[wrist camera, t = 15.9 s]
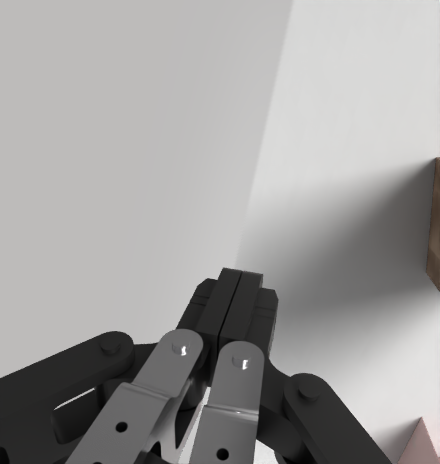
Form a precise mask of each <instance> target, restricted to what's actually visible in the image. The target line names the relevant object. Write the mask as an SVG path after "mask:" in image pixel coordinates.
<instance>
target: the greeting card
mask: <svg viewBox="0 0 440 464" xmlns="http://www.w3.org/2000/svg"><path fill="white" fill-rule="evenodd" d="M397 464H440V457H439V458H438V457H437V454H436V452H435V449H434V447H433V444H432V441H431V439H430V436H429V434H428V431H427V429H426V426H425V424H424V421H423V419H422V417H421V419H420V421H419V423H418V425H417V427H416V428H415V430H414V432H413V434H412V436H411V438H410V440H409V442H408V444H407V446H406V448H405V450H404V452H403V453H402V455H401V457H400V459H399V461H398V463H397Z"/></svg>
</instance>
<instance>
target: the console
mask: <svg viewBox="0 0 440 464" xmlns="http://www.w3.org/2000/svg"><path fill="white" fill-rule="evenodd" d="M426 273H427V274H428V276H429V277H430V279H431V280H432V282H433V283H434V284H435V286H436V287H437V289H438V290H439V291H440V157H438V158H436V165H435V176H434V188H433V199H432V211H431V222H430V234H429V245H428V257H427V268H426Z"/></svg>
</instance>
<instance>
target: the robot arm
mask: <svg viewBox="0 0 440 464" xmlns="http://www.w3.org/2000/svg"><path fill="white" fill-rule="evenodd" d="M262 283H263V274H259V273H253V272H247V271H241V270H235V269H228V268H223V269H222V271H221V273H220V275H219V278H218V280H215V279H209V278H207V279H206V280H204V281H203V282H202V283H201V284H199V285H198V286H197V288H196V290H195V292H194V294H193V296H192V298H191V300H190V303H189V304H188V306H187V308H186V310H185V312H184V314H183V316H182V318H181V319H180V321H179V324H178V326H177V327H176V329H175V330H172V331H170V332H168V333H166V334H165V335H164V336H163V337H162V338H161V340H160V341H159V342H158V343H153V344H136V345H134V344H133V340H132V338H131V337H130V336H129V335H127V334H126V333H123V332H118V331H112V332H106V333H103V334H101V335H99V336H96V337H94V338H92V339H89V340H87V341H85V342H82V343H80V344H78V345H76V346H73V347H71V348H69V349H66V350H64V351H62V352H59V353H57V354H55V355H53V356H50V357H48V358H46V359H44V360H41V361H39V362H36V363H34V364H32V365H30V366H27V367H25V368H23V369H21V370H18V371H16V372H14V373H11V374H9V375H7V376H5V377H2V378H0V464H178V461H179V458H180V455H181V453H182V451H183V448H184V446H185V444H186V441H187V439H188V437H189V435H190V432H191V430H192V428H193V425H194V423H195V421H196V419H197V417H198V414H199V412H200V410H201V407H202V399H203V397H204V394H205V391H206V388H207V387H211V390H210V394H209V398H208V402H207V405H204V407H203V409H202V413H201V417H200V421H199V425H198V429H197V433H196V437H195V441H194V445H193V449H192V453H191V457H190V461H189V464H253V461H254V451H255V442H256V439H257V440H258V441H260V442H262V443H263V444H265V445H266V446H268V447H269V448H271V449H273V450H274V454H275V457H276V460H277V462H278V464H392V463H391V462H390V460H389V459H388V458H387V457H386V455H385V454H384V453H383V452H382V450H381V449H380V448H379V447H378V445H377V444H376V443H375V442H374V440H373V439H372V438H371V437H370V435H369V434H368V433H367V432H366V430H365V429H364V428H363V427H362V426H361V424H360V423H359V422H358V421H357V419H356V418H355V417H354V416H353V414H352V413H351V412H350V411H349V409H348V408H347V407H346V406H345V404H344V403H343V402H342V401H341V399H340V398H339V397H338V396H337V394H336V393H335V392H334V391H333V389H332V388H331V387H330V386H329V385H328V384H327V382H325V381H324V380H323V379H321V378H320V377H318V376H316V375H313V374H308V373H299V374H295V375H293V376H291V377H289V376H287V375H285V374H283V373H282V372H280V371H279V370H277V369H276V368H275V367H274V366H273V365H272V363H271V362H270V360H269V355H270V350H271V346H272V341H273V336H274V330H275V323H276V315H277V307H278V298H277V295H276V293H275V290H271V289H266V288H262ZM92 388H94V389H95V390H93V391H91V392H89V393H87V394H85V395H83V396H81V397H79V398H77V399H75V400H73V401H71V402H69V403H67V404H65V405H63V406H61V407H60V408H58V409H55V408H56V407H57V406H59V405H60V404H62V403H64V402H66V401H68V400H70V399H72V398H74V397H76V396H78V395H80V394H82V393H84V392H86V391H88V390H90V389H92ZM54 409H55V410H54Z"/></svg>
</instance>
